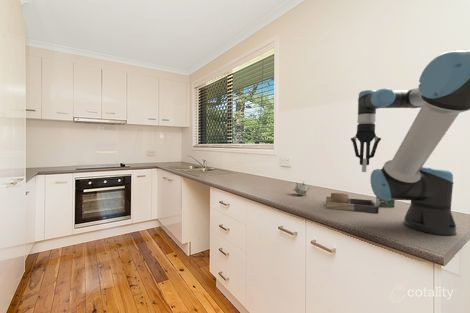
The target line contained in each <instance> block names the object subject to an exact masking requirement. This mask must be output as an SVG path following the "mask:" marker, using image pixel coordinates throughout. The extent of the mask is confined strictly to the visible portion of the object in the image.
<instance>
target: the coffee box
mask: <svg viewBox="0 0 470 313" xmlns="http://www.w3.org/2000/svg"><path fill="white" fill-rule="evenodd" d="M375 196H376V195H375ZM395 201H396V200H385V199H379V198H378V197H377V196H376V202H375V204H376V205H377V206H378V207H379V208H395V205H396V204H395V203H396V202H395Z"/></svg>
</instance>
